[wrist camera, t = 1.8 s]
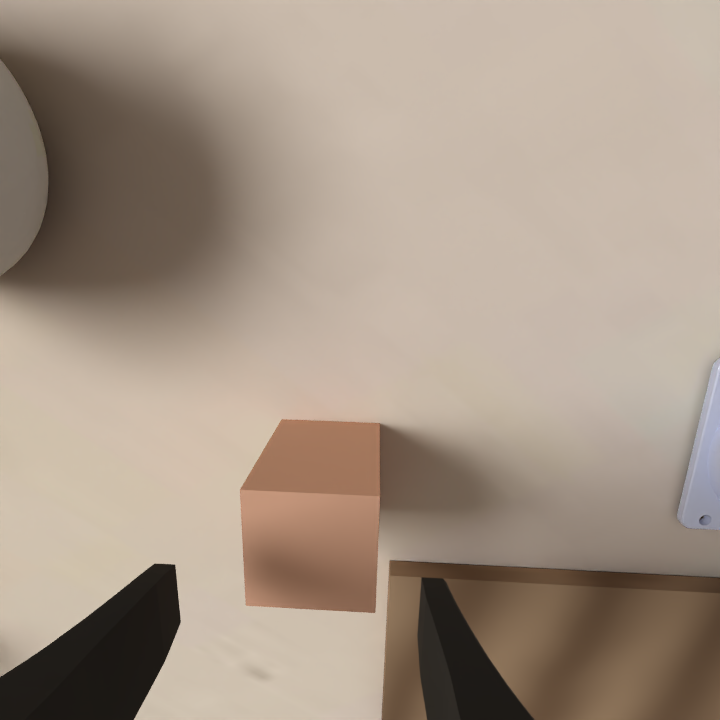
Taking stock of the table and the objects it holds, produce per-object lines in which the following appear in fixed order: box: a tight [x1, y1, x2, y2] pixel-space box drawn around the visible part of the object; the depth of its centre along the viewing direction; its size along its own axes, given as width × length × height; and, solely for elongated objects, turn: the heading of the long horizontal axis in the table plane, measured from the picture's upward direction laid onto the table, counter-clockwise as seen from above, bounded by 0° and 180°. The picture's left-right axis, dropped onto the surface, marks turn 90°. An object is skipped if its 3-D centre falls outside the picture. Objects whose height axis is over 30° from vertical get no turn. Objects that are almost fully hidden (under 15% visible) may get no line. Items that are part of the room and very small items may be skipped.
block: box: [240, 419, 380, 613], centre depth 17 cm, size 4×4×6 cm
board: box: [382, 561, 720, 720], centre depth 22 cm, size 18×14×1 cm
